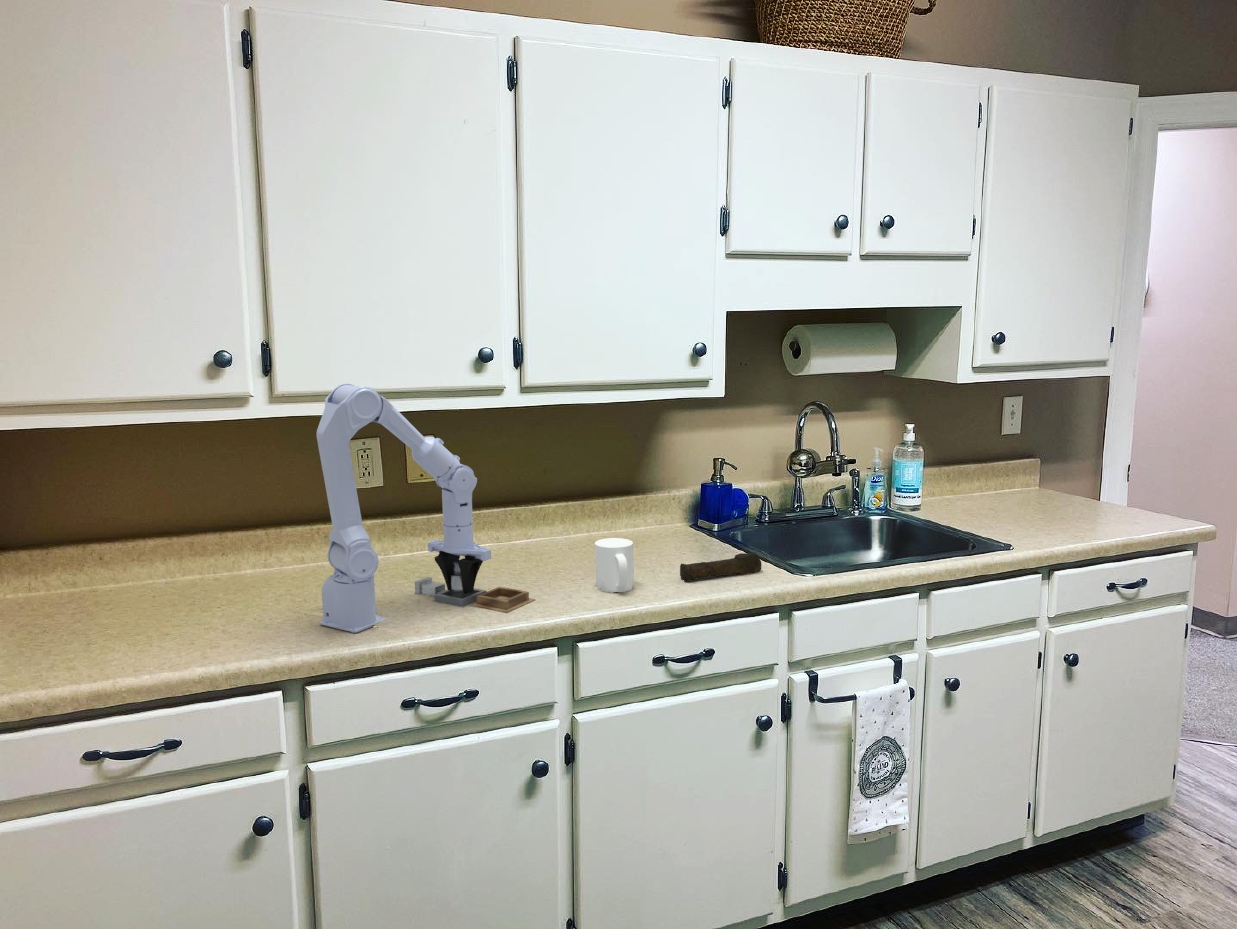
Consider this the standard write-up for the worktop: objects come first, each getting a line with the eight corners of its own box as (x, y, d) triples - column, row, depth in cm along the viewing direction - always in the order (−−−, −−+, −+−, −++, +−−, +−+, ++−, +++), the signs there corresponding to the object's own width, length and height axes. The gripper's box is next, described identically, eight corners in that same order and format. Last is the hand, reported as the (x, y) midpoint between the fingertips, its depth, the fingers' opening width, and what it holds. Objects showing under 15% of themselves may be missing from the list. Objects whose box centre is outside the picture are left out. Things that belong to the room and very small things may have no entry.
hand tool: (686, 584, 200) (686, 563, 199) (678, 579, 204) (678, 558, 203) (766, 576, 206) (767, 555, 206) (758, 570, 210) (758, 550, 209)
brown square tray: (470, 608, 185) (469, 596, 185) (499, 596, 193) (498, 584, 192) (507, 616, 181) (506, 603, 180) (535, 603, 188) (535, 591, 188)
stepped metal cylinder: (447, 599, 189) (446, 562, 188) (459, 594, 192) (458, 558, 191) (461, 602, 187) (460, 565, 186) (473, 597, 190) (472, 561, 189)
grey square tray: (431, 603, 188) (431, 594, 188) (458, 593, 195) (458, 584, 195) (463, 610, 184) (462, 601, 184) (489, 599, 191) (489, 590, 191)
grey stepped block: (415, 595, 193) (414, 581, 193) (428, 590, 197) (427, 576, 196) (434, 599, 191) (433, 585, 190) (446, 594, 194) (446, 580, 194)
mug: (589, 538, 201) (625, 535, 203) (589, 581, 202) (626, 578, 205) (604, 552, 189) (643, 549, 192) (605, 598, 191) (643, 594, 193)
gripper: (500, 523, 187) (502, 590, 189) (443, 515, 194) (446, 580, 196) (476, 531, 181) (479, 600, 183) (419, 522, 188) (422, 589, 191)
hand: (460, 590), depth 189 cm, fingers closed on stepped metal cylinder, 4 cm apart
